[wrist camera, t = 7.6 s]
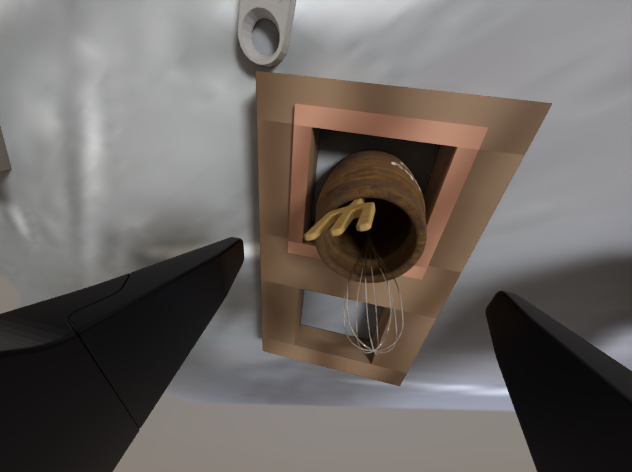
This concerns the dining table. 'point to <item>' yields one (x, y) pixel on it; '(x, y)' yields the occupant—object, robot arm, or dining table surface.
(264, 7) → the adjustable wrench
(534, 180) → the dining table surface
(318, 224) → the utensil holder
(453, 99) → the double window frame
